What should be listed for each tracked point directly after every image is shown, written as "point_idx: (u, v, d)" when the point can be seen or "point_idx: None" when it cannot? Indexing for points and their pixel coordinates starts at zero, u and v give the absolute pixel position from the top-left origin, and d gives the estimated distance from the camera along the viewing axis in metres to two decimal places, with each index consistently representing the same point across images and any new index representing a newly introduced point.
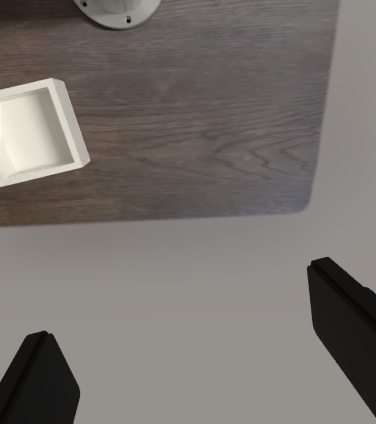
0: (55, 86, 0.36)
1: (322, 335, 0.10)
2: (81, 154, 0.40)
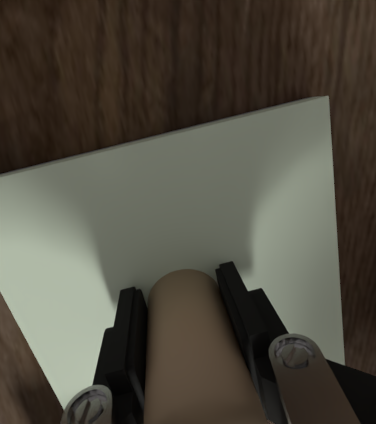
0: None
1: None
2: None
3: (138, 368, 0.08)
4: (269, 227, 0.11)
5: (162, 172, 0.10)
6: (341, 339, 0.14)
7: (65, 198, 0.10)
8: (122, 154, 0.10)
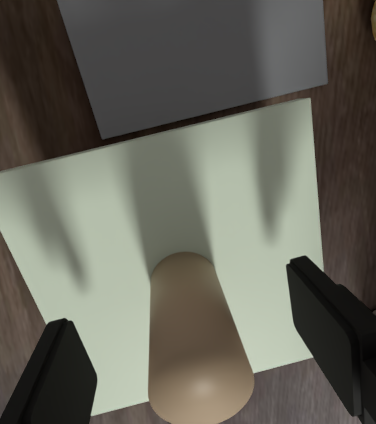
0: None
1: (301, 331, 0.11)
2: None
3: (41, 421, 0.07)
4: (259, 214, 0.13)
5: (164, 164, 0.12)
6: None
7: (78, 187, 0.12)
8: (129, 148, 0.11)
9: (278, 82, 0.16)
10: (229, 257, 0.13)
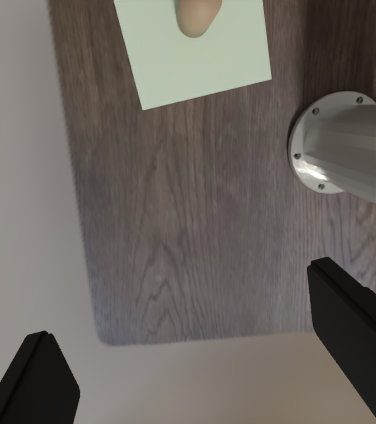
0: None
1: (322, 335, 0.10)
2: None
3: None
4: None
5: None
6: (267, 53, 0.29)
7: None
8: None
9: None
10: None
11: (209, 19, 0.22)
